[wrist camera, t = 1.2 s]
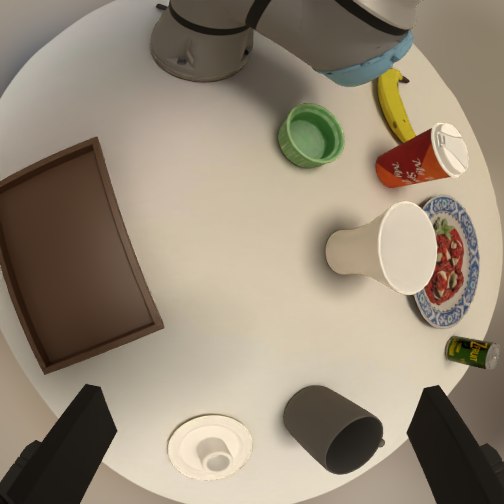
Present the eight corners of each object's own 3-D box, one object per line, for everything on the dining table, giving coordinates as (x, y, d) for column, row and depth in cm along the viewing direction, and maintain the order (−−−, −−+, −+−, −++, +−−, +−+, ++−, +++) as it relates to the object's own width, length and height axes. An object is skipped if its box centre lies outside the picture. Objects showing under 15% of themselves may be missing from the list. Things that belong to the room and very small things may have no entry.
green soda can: (460, 338, 53) (503, 345, 42) (452, 361, 53) (495, 371, 41) (449, 333, 52) (495, 341, 41) (441, 357, 51) (486, 369, 40)
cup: (358, 208, 45) (424, 191, 32) (377, 272, 45) (444, 273, 33) (302, 229, 41) (366, 215, 29) (325, 299, 42) (392, 311, 29)
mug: (271, 429, 39) (310, 473, 27) (299, 377, 40) (348, 409, 29) (337, 442, 42) (380, 476, 31) (362, 397, 44) (412, 422, 33)
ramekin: (261, 133, 40) (273, 120, 36) (302, 106, 42) (316, 93, 38) (301, 183, 42) (317, 175, 37) (338, 152, 44) (355, 143, 40)
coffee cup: (370, 188, 46) (442, 165, 31) (370, 142, 46) (435, 110, 32) (405, 199, 48) (473, 183, 34) (403, 156, 49) (467, 133, 35)
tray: (-7, 194, 28) (-16, 190, 25) (100, 144, 33) (97, 136, 30) (50, 368, 30) (44, 375, 27) (163, 323, 35) (164, 328, 32)
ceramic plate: (468, 320, 55) (478, 322, 52) (396, 334, 47) (409, 337, 44) (470, 208, 56) (480, 206, 53) (400, 185, 48) (411, 181, 45)
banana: (417, 151, 45) (443, 138, 51) (375, 62, 42) (409, 64, 48) (397, 157, 49) (426, 143, 55) (357, 72, 46) (393, 72, 52)
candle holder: (198, 488, 35) (203, 505, 31) (150, 438, 33) (151, 455, 29) (264, 451, 38) (275, 466, 34) (224, 397, 37) (233, 411, 33)
